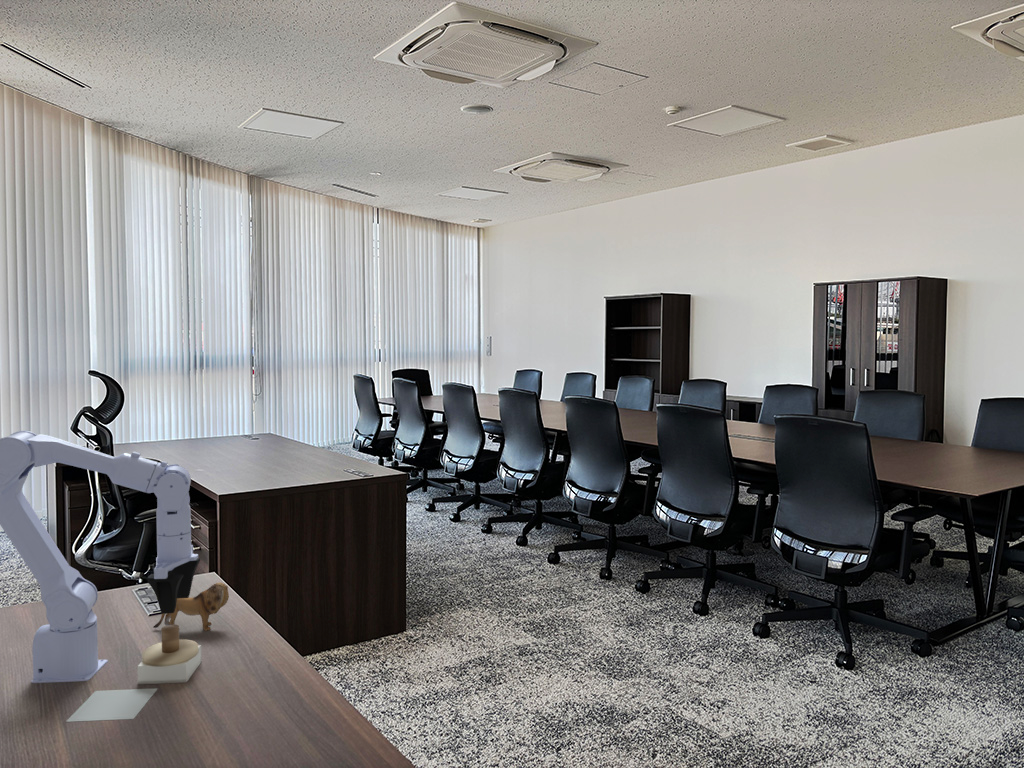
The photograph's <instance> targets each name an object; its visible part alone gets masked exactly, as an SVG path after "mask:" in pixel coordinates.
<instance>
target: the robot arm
mask: <svg viewBox="0 0 1024 768" xmlns="http://www.w3.org/2000/svg"><path fill="white" fill-rule="evenodd" d="M57 463H59V464H63V465H68V466H71V467H72V466H73V467H76V468H79V469H80V468H81V469H83V470H89V471H93V472H96V473H101V474H105V475H107V477H109V479H110V481H111V483H112V484H114V485H118V486H121V487H125V488H129V489H132V490H136V491H138V492H139V491H140V492H143V493H146V494H151V493H154V495H155V497H156V498H157V499H156V502H157V505H156V506H157V508H156V510H155V512H156V552H157V555H156V556H157V557H155V561H156V562H155V567H154V568H153V573H151V574H150V575H148V576H147V583H148V584H149V586H150V587H151V589H152V590H153V592H154V594H155V596H156V599H157V603H158V606H159V610H160V613H161V615H162V614H165V615H166V614H167V613H174V612H175V608H176V602H177V598H188V597H189V598H190V594H191V591H192V585H193V580H194V575H195V573H196V570H197V567H198V565H199V564H200V561H201V557H199V554H198V553H194V545H193V544H192V511H191V510H192V509H191V507H192V506H191V505H190V502H191V501H190V500H191V496H190V492H189V491H190V488H191V487H190V486H191V483H192V478H191V475H190V472H189V471H188V470H187V469H186V468H185V467H183V466H181V465H179V464H178V463H173V464H168V461H164V460H162V461H161V462H158V461H156V460H152V459H148V458H145V457H142V456H141V453H140V452H137V451H132V452H131V453H128V452H124V453H121V454H119V455H117V456H112V455H110V454H106V453H103V452H101V451H98V450H95V449H92V448H89V447H86V446H83V445H81V444H76V443H73V442H71V441H67V440H64V439H61V438H59V437H56V436H51V435H49V434H42V433H38V434H37V433H35V432H32V431H30V430H29V431H28V430H20V431H16V432H13V433H11V434H10V435H8V436H5V437H0V527H1V528H2V530H3V531H4V532H5V534H6V536H7V538H9V540H10V542H11V544H12V545H13V546H14V548H15V549H16V551H17V552H18V554H19V556H20V557H21V559H22V560H23V562H24V563H25V565H26V566H27V568H28V569H29V570H30V572H31V574H32V576H33V577H34V579H35V580H36V581H37V583H38V584H39V591H40V598H41V602H42V603H43V604H44V606H45V609H46V610H45V611H46V612H45V614H46V620H47V622H48V623H47V624H43V625H41V626H40V627H39V628H38V629H37V630H36V632H35V634H34V636H33V639H32V646H31V647H32V650H31V651H32V672H33V673H32V679H31V681H30V683H32V684H39V683H40V684H42V683H45V684H46V683H67V682H68V683H69V682H88V681H90V680H91V678H93V677H94V676H95V675H96V674H97V673H98V672H99V671H100V670H101V669H102V668H103V667H104V666H105V665H106V664H108V661H109V660H108V659H99V648H98V647H99V643H98V641H99V640H98V639H99V637H98V616H97V615H96V614H95V613H94V611H93V609H92V608H93V607H94V606H95V604H96V603H97V601H98V597H99V593H98V589H97V587H96V585H95V584H94V583H93V582H91V581H90V580H88V579H85V578H84V577H83V576H82V574H81V573H80V571H79V570H78V569H76V568H74V567H72V566H71V565H70V564H69V562H68V561H67V559H66V558H65V556H64V555H63V554H62V552H61V550H60V549H59V548H58V546H57V544H56V542H55V541H54V539H53V538H52V536H51V535H50V534H49V532H48V531H47V529H46V527H45V525H44V524H43V522H42V521H41V519H40V518H39V516H38V515H37V514H36V512H35V510H34V509H33V507H32V505H31V503H30V502H29V501H28V499H27V498H26V496H25V494H24V493H23V492H22V490H23V487H24V485H25V483H26V480H27V478H28V475H29V473H30V471H31V470H32V469H33V468H39V467H43V466H47V465H51V464H57Z"/></svg>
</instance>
